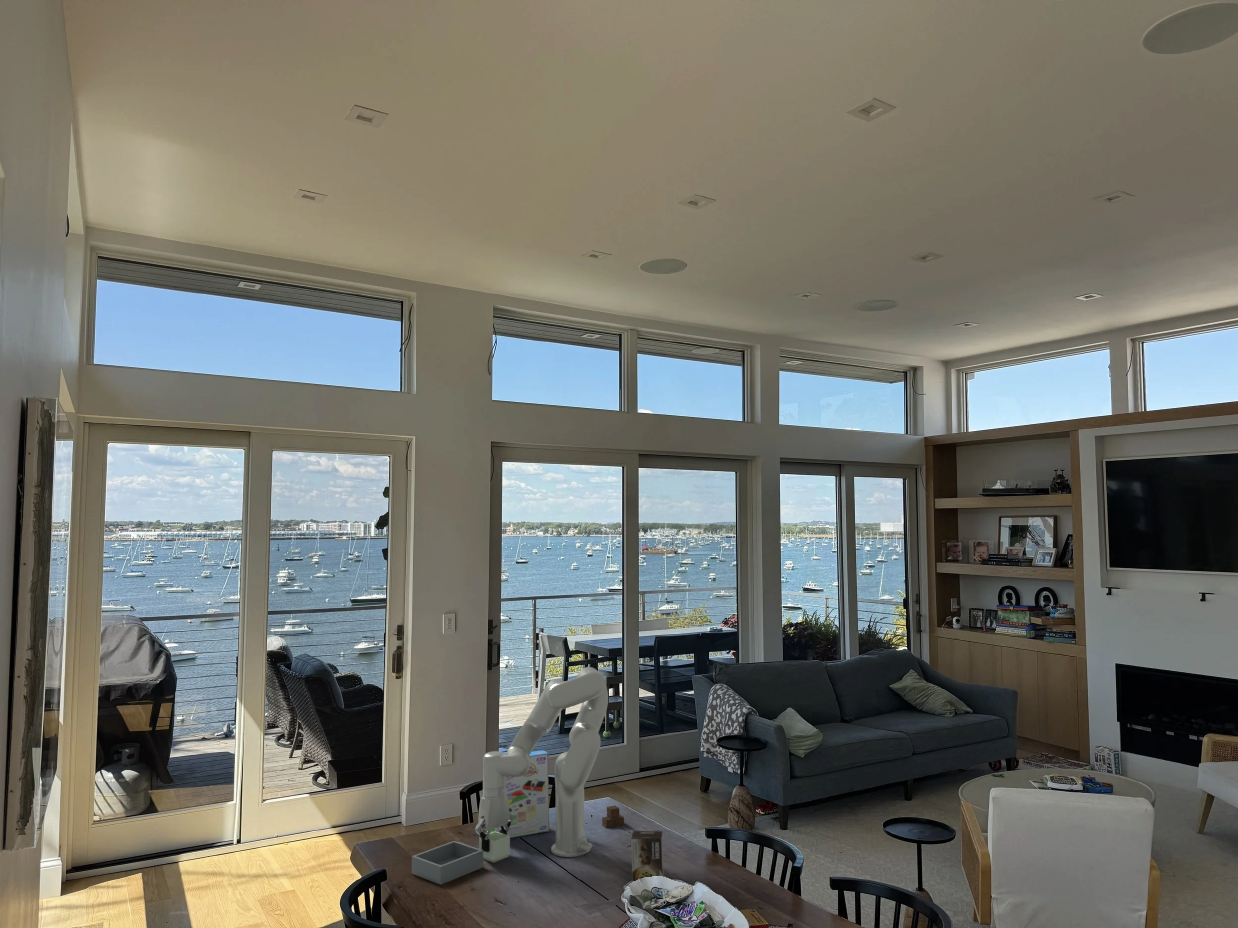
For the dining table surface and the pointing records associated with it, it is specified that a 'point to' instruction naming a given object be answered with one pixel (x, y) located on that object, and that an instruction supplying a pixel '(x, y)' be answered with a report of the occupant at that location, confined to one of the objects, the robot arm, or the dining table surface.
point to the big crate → (447, 862)
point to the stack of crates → (612, 817)
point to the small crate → (496, 847)
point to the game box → (529, 798)
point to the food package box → (647, 854)
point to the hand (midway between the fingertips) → (494, 846)
